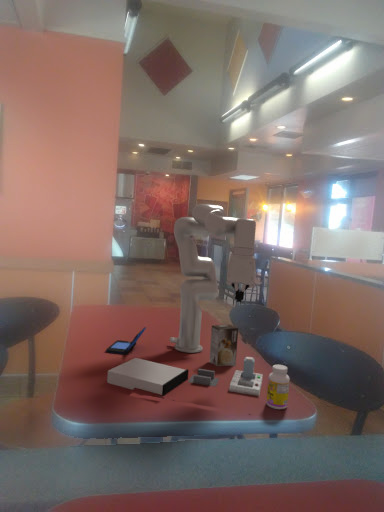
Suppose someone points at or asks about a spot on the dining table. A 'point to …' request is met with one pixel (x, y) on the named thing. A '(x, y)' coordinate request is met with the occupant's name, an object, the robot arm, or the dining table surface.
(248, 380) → the port panel
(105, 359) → the dining table surface
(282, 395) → the supplement bottle
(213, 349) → the coffee box
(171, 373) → the disc drive
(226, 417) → the dining table surface
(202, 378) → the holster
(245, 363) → the plug
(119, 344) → the handheld game console
